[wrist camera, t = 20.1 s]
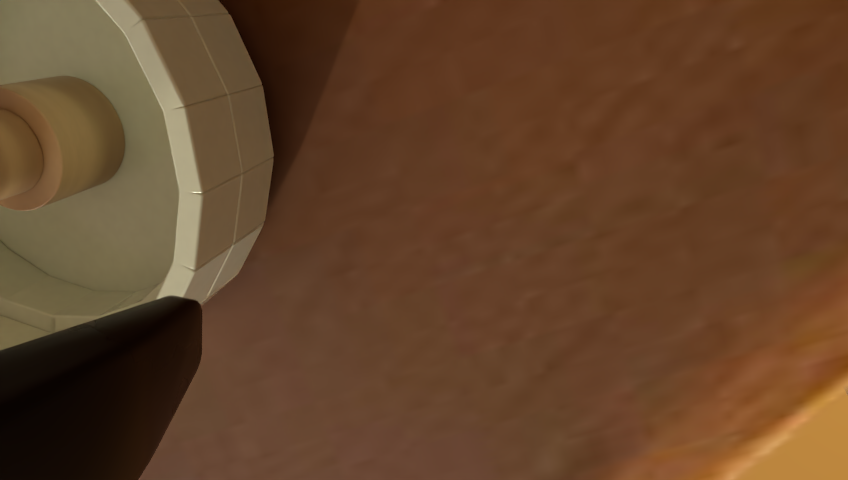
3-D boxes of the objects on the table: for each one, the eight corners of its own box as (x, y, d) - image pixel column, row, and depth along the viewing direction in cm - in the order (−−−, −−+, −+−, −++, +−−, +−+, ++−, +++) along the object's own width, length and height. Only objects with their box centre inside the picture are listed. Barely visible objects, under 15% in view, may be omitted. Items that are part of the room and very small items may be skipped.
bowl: (367, 163, 22) (306, 208, 17) (115, 380, 28) (19, 458, 23) (51, -212, 20) (-108, -272, 16) (-149, 99, 26) (-309, 122, 21)
